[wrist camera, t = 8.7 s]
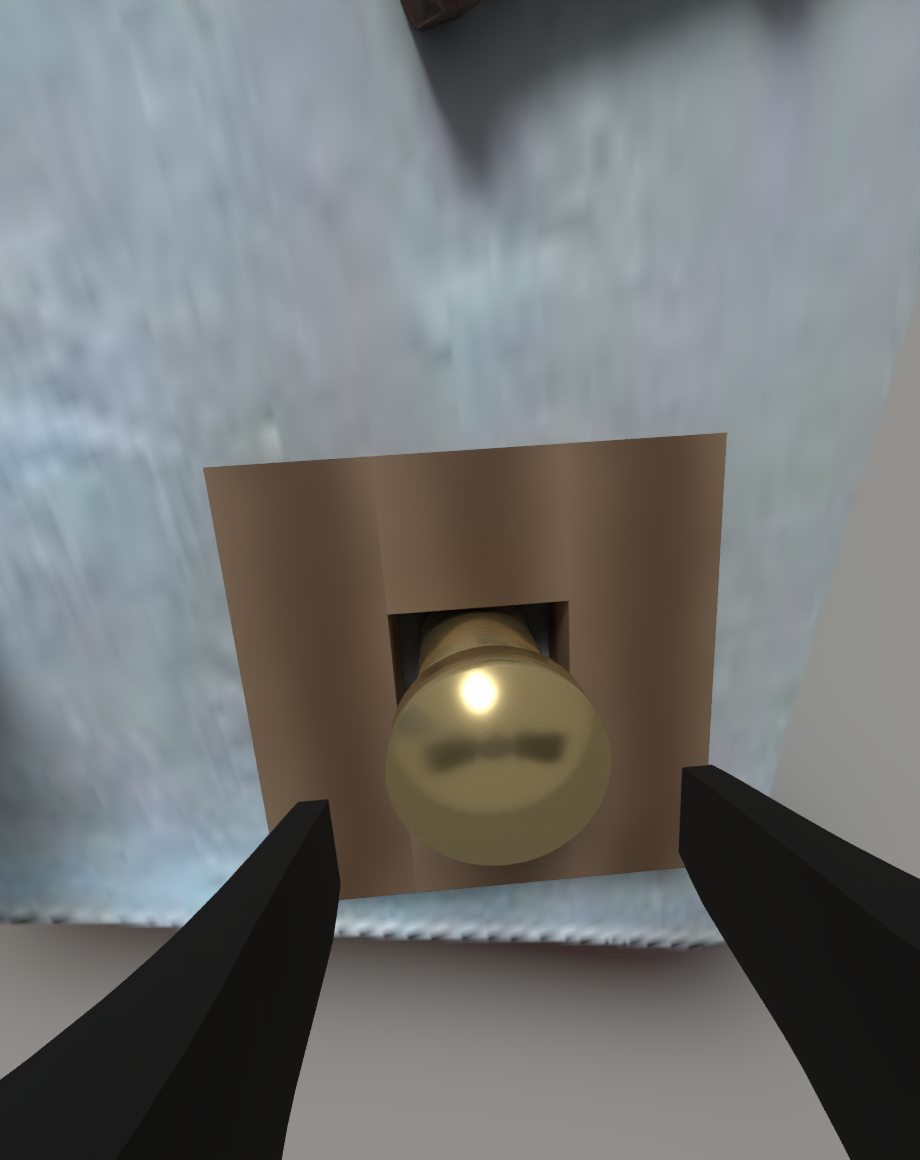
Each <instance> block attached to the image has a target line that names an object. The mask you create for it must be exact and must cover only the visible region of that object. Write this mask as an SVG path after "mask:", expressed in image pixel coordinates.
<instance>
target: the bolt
mask: <svg viewBox="0 0 920 1160" xmlns="http://www.w3.org/2000/svg"><path fill="white" fill-rule="evenodd" d="M480 1H482V0H401V2H402V5H403V7H404V10H405V12H406V14H407V16H408V17H409V19H410V21H411V22H412V24H413V26H414V27H415V29H416V30H417V31H423V30H426V29H429V28H432V27H435V26H437V25H440V24H443V23H446V22H448V21H451V20H454V19H457V18H459V17H461V16H462V15H463V14H465V13H466V12H467V11H468V10H470V9H471V8H472V7H474V6H475V5H476V4H478V3H479V2H480Z"/></svg>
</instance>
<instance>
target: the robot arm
mask: <svg viewBox="0 0 920 1160" xmlns="http://www.w3.org/2000/svg"><path fill="white" fill-rule="evenodd" d="M678 852H679V854H680V857H681V859H682V861H683V863H684V865H685V868H686V870H687V872H688V874H689V876H690V879H691V881H692V883H693V885H694V887H695V889H696V891H697V893H698V895H699V897H700V899H701V901H702V903H703V905H704V907H705V908H706V910H707V912H708V913H709V915H710V917H711V918H712V920H713V922H714V923H715V925H716V927H717V928H718V930H719V932H720V933H721V935H722V936H723V938H724V940H725V941H726V943H727V945H728V946H729V948H730V949H731V951H732V953H733V954H734V956H735V958H736V959H737V961H738V962H739V964H740V965H741V967H742V969H743V970H744V972H745V974H746V975H747V977H748V978H749V980H750V982H751V983H752V985H753V986H754V988H755V989H756V991H757V993H758V994H759V996H760V998H761V999H762V1001H763V1002H764V1004H765V1006H766V1007H767V1009H768V1010H769V1012H770V1014H771V1015H772V1017H773V1019H774V1020H775V1022H776V1023H777V1025H778V1027H779V1028H780V1030H781V1032H782V1033H783V1035H784V1036H785V1038H786V1040H787V1042H788V1043H789V1045H790V1047H791V1048H792V1050H793V1052H794V1054H795V1055H796V1057H797V1059H798V1061H799V1062H800V1064H801V1066H802V1068H803V1069H804V1071H805V1073H806V1075H807V1077H808V1079H809V1081H810V1083H811V1085H812V1087H813V1088H814V1090H815V1092H816V1094H817V1096H818V1098H819V1100H820V1102H821V1104H822V1106H823V1108H824V1110H825V1111H826V1113H827V1115H828V1117H829V1119H830V1121H831V1123H832V1125H833V1126H834V1129H835V1130H836V1132H837V1134H838V1136H839V1138H840V1140H841V1142H842V1144H843V1146H844V1148H845V1150H846V1152H847V1154H848V1156H849V1158H850V1160H920V879H919V878H917V877H915V876H913V875H910V874H909V873H906V872H904V871H902V870H900V869H898V868H896V867H894V866H892V865H891V864H888V863H887V862H885V861H883V860H881V859H879V858H877V857H875V856H873V855H871V854H870V853H868V852H866V851H864V850H862V849H860V848H858V847H856V846H854V845H852V844H850V843H849V842H847V841H845V840H843V839H841V838H840V837H838V836H836V835H834V834H832V833H830V832H829V831H827V830H825V829H823V828H821V827H820V826H818V825H816V824H814V823H813V822H811V821H809V820H807V819H806V818H804V817H802V816H800V815H798V814H797V813H795V812H794V811H792V810H790V809H788V808H787V807H785V806H783V805H782V804H780V803H778V802H776V801H775V800H773V799H771V798H770V797H768V796H766V795H764V794H763V793H761V792H759V791H758V790H756V789H754V788H753V787H751V786H749V785H747V784H746V783H744V782H742V781H740V780H739V779H737V778H735V777H734V776H732V775H730V774H728V773H726V772H725V771H723V770H721V769H719V768H717V767H715V766H713V765H703V766H691V767H682V781H681V804H680V827H679V850H678ZM340 887H341V882H340V875H339V868H338V861H337V854H336V848H335V841H334V834H333V827H332V820H331V813H330V807H329V800H328V799H324V800H313V801H302V802H297V803H296V804H295V806H294V807H293V808H292V809H291V810H290V811H289V812H288V813H287V814H286V815H285V817H284V818H283V819H282V820H281V821H280V822H279V823H278V825H277V826H276V827H275V828H274V829H273V830H272V831H271V833H270V834H269V835H268V836H267V837H266V838H265V840H264V841H263V842H262V843H261V844H260V845H259V846H258V848H257V849H256V850H255V851H254V852H253V853H252V854H251V855H250V857H249V858H248V859H247V860H246V861H245V862H244V863H243V864H242V865H241V866H240V868H239V869H238V870H237V871H236V872H235V873H234V874H233V875H232V876H231V877H230V879H229V880H228V881H227V882H226V883H225V884H224V885H223V886H222V887H221V888H220V889H219V891H218V892H217V893H216V894H215V895H214V896H213V897H212V898H211V899H210V900H209V901H208V902H207V903H206V904H205V905H204V906H203V907H202V908H201V909H200V910H199V911H198V912H197V913H196V914H195V915H194V916H193V917H192V918H191V919H190V920H189V921H188V922H187V923H186V924H185V925H184V926H183V927H182V928H181V929H180V930H179V931H178V932H177V933H176V934H175V935H174V936H173V937H172V938H171V939H170V940H169V941H168V942H167V943H166V944H164V945H163V946H162V947H161V948H160V949H159V950H158V951H157V952H156V953H155V954H154V955H153V956H152V957H150V958H149V959H148V960H147V961H146V962H145V963H144V964H143V965H141V966H140V967H139V968H138V969H137V970H136V971H135V972H134V973H132V974H131V975H130V976H129V977H128V978H127V979H126V980H125V981H123V982H122V983H121V984H120V985H119V986H118V987H117V988H116V989H114V990H113V991H112V992H111V993H109V994H108V995H107V996H106V997H105V998H104V999H103V1000H101V1001H100V1002H99V1003H98V1004H96V1005H95V1006H94V1007H92V1008H91V1009H90V1010H89V1011H87V1012H86V1013H85V1014H84V1015H83V1016H81V1017H80V1018H79V1019H78V1020H76V1021H75V1022H74V1023H73V1024H71V1025H70V1026H69V1027H68V1028H66V1029H65V1030H64V1031H63V1032H61V1033H60V1034H59V1035H58V1036H57V1037H55V1038H54V1039H53V1040H51V1041H50V1042H49V1043H48V1044H46V1045H45V1046H44V1047H43V1048H41V1049H40V1050H39V1051H38V1052H36V1053H35V1054H34V1055H33V1056H31V1057H30V1058H29V1059H27V1060H26V1061H25V1062H23V1063H22V1064H21V1065H20V1066H18V1067H17V1068H16V1069H14V1070H13V1071H12V1072H10V1073H9V1074H7V1075H6V1076H5V1077H3V1078H2V1079H1V1080H0V1160H282V1154H283V1148H284V1143H285V1137H286V1132H287V1126H288V1122H289V1117H290V1112H291V1108H292V1103H293V1099H294V1094H295V1090H296V1086H297V1081H298V1078H299V1073H300V1070H301V1066H302V1062H303V1058H304V1054H305V1050H306V1046H307V1042H308V1038H309V1034H310V1030H311V1026H312V1023H313V1019H314V1015H315V1011H316V1007H317V1003H318V999H319V995H320V991H321V987H322V983H323V979H324V975H325V971H326V967H327V963H328V959H329V954H330V951H331V946H332V942H333V936H334V930H335V923H336V917H337V909H338V902H339V895H340Z"/></svg>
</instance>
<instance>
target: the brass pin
mask: <svg viewBox="0 0 920 1160" xmlns="http://www.w3.org/2000/svg"><path fill="white" fill-rule="evenodd" d="M611 763H612V757H611V748H610V743H609V739H608V735H607V732H606V730H605V727H604V725H603V723H602V721H601V719H600V717H599V716H598V714H597V712H596V711H595V709H594V707H593V706H592V704H591V703H590V701H589V699H588V698H587V696H586V694H585V693H584V691H583V690H582V688H581V686H580V685H579V683H578V682H577V681H576V680H575V679H574V678H573V676H572V675H571V674H570V673H569V672H567V671H566V670H565V669H564V668H563V667H562V666H560V665H559V664H557V663H556V662H554V661H553V660H551V659H550V658H548V657H546V656H544V655H542V654H541V652H540V650H539V648H538V646H537V644H536V642H535V640H534V639H533V637H532V635H531V633H530V631H529V629H528V627H527V625H526V623H525V621H524V619H523V617H522V615H521V614H520V612H519V610H518V609H517V608H516V607H515V606H514V605H507V606H494V607H481V608H467V609H454V610H441V611H431V612H430V613H429V615H428V616H427V618H426V620H425V623H424V626H423V629H422V635H421V645H420V655H419V665H418V676H417V679H416V680H415V681H414V682H413V683H412V684H411V686H410V687H409V688H408V690H407V691H406V693H405V694H404V696H403V698H402V699H401V701H400V703H399V705H398V707H397V710H396V713H395V715H394V719H393V724H392V728H391V734H390V740H389V745H388V751H387V757H386V770H385V773H386V785H387V789H388V793H389V797H390V800H391V802H392V805H393V807H394V810H395V811H396V813H397V815H398V816H399V818H400V820H401V821H402V823H403V824H404V825H405V826H406V828H407V829H408V830H409V831H410V832H411V833H412V834H413V835H414V836H415V837H416V838H417V839H418V840H419V841H421V842H422V843H423V844H425V845H426V846H428V847H429V848H431V849H432V850H434V851H436V852H438V853H440V854H442V855H444V856H447V857H449V858H451V859H454V860H458V861H461V862H465V863H470V864H476V865H488V866H499V865H511V864H516V863H522V862H526V861H529V860H533V859H536V858H538V857H541V856H543V855H546V854H548V853H550V852H552V851H554V850H556V849H557V848H559V847H561V846H562V845H564V844H565V843H567V842H568V841H570V840H571V839H572V838H573V837H575V836H576V835H577V834H578V833H579V832H580V831H581V830H582V829H583V828H584V827H585V826H586V825H587V824H588V822H589V821H590V820H591V819H592V817H593V816H594V815H595V813H596V812H597V810H598V809H599V807H600V805H601V803H602V801H603V799H604V797H605V794H606V791H607V788H608V785H609V780H610V775H611Z"/></svg>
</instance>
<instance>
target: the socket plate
mask: <svg viewBox="0 0 920 1160" xmlns="http://www.w3.org/2000/svg"><path fill="white" fill-rule="evenodd" d="M726 437H727V433H716V434H701V435H686V436H671V437H656V438H641V439H626V440H611V441H596V442H582V443H567V444H552V445H537V446H522V447H507V448H492V449H477V450H462V451H447V452H432V453H417V454H402V455H387V456H372V457H357V458H342V459H327V460H312V461H297V462H283V463H268V464H253V465H238V466H223V467H208V468H203V469H204V475H205V480H206V486H207V491H208V497H209V502H210V508H211V514H212V519H213V525H214V530H215V536H216V541H217V547H218V552H219V558H220V563H221V569H222V574H223V580H224V585H225V591H226V596H227V602H228V607H229V613H230V619H231V624H232V630H233V635H234V641H235V646H236V652H237V657H238V663H239V668H240V674H241V679H242V685H243V690H244V696H245V701H246V707H247V713H248V718H249V724H250V729H251V735H252V740H253V746H254V751H255V757H256V762H257V768H258V773H259V779H260V784H261V790H262V795H263V801H264V806H265V812H266V818H267V823H268V829H269V834H270V833H271V831H272V830H273V829H274V828H275V827H276V826H277V825H278V823H279V822H280V821H281V820H282V819H283V818H284V817H285V815H286V814H287V813H288V812H289V811H290V810H291V809H292V808H293V807H294V806H295V804H296V803H297V802H302V801H313V800H324V799H328V800H329V807H330V813H331V820H332V827H333V834H334V841H335V848H336V854H337V861H338V868H339V875H340V882H341V887H340V895H339V900H343V899H354V898H364V897H375V896H386V895H396V894H407V893H418V892H428V891H439V890H450V889H460V888H471V887H482V886H492V885H503V884H513V883H524V882H535V881H545V880H556V879H567V878H577V877H588V876H599V875H609V874H620V873H631V872H641V871H652V870H663V869H673V868H684V867H685V865H684V863H683V861H682V859H681V857H680V854H679V852H678V850H679V827H680V804H681V781H682V767H691V766H703V765H708V756H709V738H710V720H711V703H712V685H713V667H714V649H715V632H716V614H717V596H718V579H719V561H720V543H721V525H722V508H723V490H724V472H725V455H726ZM546 602H548V614H549V653H550V659H551V660H553V661H554V662H556V663H557V664H559V665H560V666H562V667H563V668H564V669H565V670H566V671H567V672H569V673H570V674H571V675H572V676H573V678H574V679H575V680H576V681H577V682H578V683H579V685H580V686H581V688H582V690H583V691H584V693H585V694H586V696H587V698H588V699H589V701H590V703H591V704H592V706H593V707H594V709H595V711H596V712H597V714H598V716H599V717H600V719H601V721H602V723H603V725H604V727H605V730H606V732H607V735H608V739H609V743H610V748H611V757H612V763H611V775H610V780H609V785H608V788H607V791H606V794H605V797H604V799H603V801H602V803H601V805H600V807H599V809H598V810H597V812H596V813H595V815H594V816H593V817H592V819H591V820H590V821H589V822H588V824H587V825H586V826H585V827H584V828H583V829H582V830H581V831H580V832H579V833H578V834H577V835H576V836H575V837H573V838H572V839H571V840H570V841H568V842H567V843H565V844H564V845H562V846H561V847H559V848H557V849H556V850H554V851H552V852H550V853H548V854H546V855H543V856H541V857H538V858H536V859H533V860H529V861H526V862H522V863H516V864H511V865H499V866H488V865H476V864H470V863H465V862H461V861H458V860H454V859H451V858H449V857H447V856H444V855H442V854H440V853H438V852H436V851H434V850H432V849H431V848H429V847H428V846H426V845H425V844H423V843H422V842H421V841H419V840H418V839H417V838H416V837H415V836H414V835H413V834H412V833H411V832H410V831H409V830H408V829H407V828H406V826H405V825H404V824H403V823H402V821H401V820H400V818H399V816H398V815H397V813H396V811H395V810H394V807H393V805H392V802H391V800H390V797H389V793H388V789H387V785H386V773H385V770H386V757H387V751H388V745H389V740H390V734H391V728H392V724H393V719H394V715H395V713H396V710H397V707H398V705H399V703H400V701H401V699H402V698H403V696H404V694H405V685H404V674H403V664H402V654H401V644H400V634H399V624H398V614H402V613H415V612H428V611H441V610H454V609H467V608H481V607H494V606H507V605H520V604H533V603H546Z"/></svg>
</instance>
